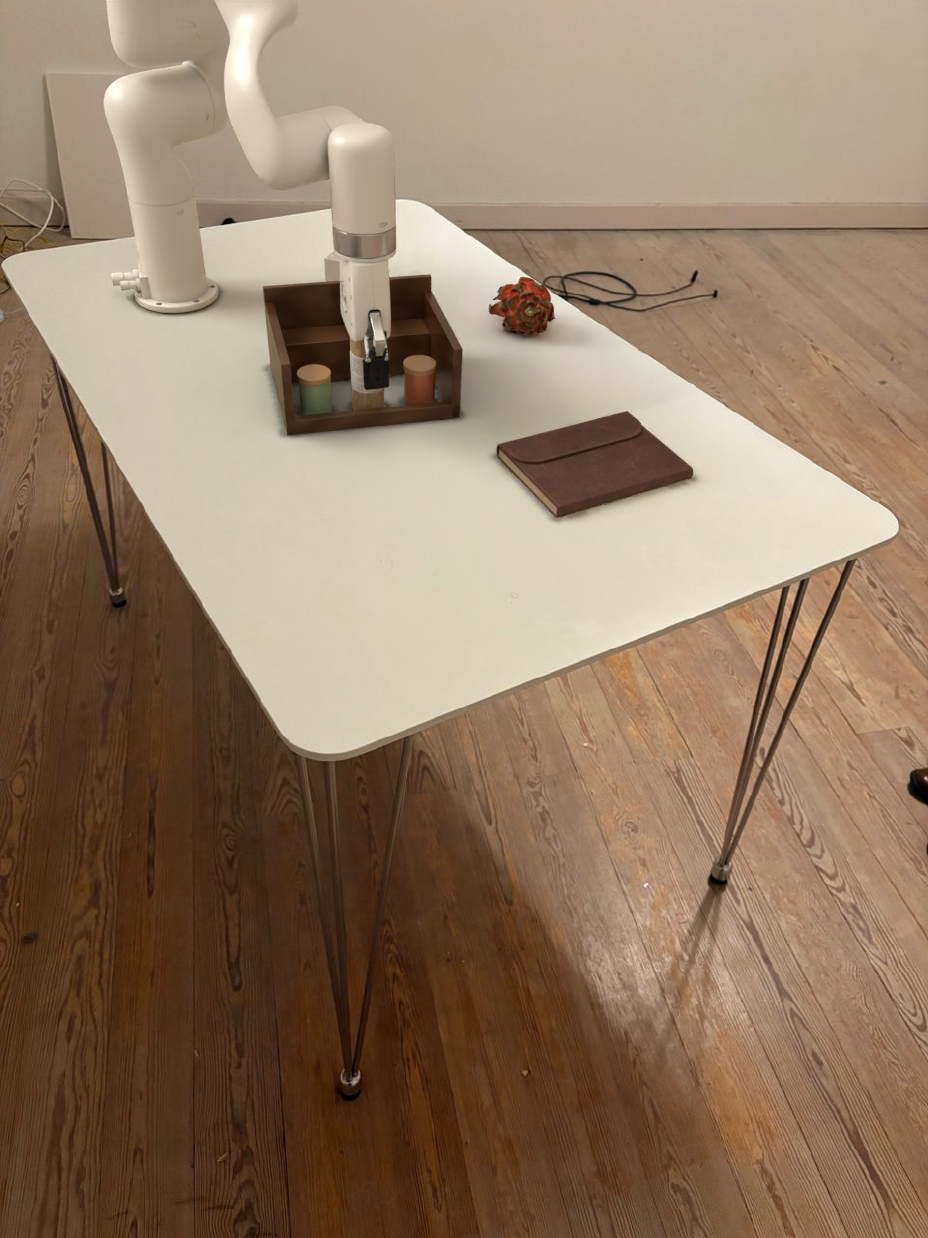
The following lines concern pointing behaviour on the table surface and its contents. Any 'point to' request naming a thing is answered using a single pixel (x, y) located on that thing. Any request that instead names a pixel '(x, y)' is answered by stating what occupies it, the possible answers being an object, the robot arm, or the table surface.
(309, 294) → the spice rack
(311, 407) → the sage jar
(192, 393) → the table surface
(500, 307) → the dragon fruit
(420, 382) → the terracotta jar
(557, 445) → the notebook
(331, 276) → the light grey cube
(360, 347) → the sprinkles bottle
